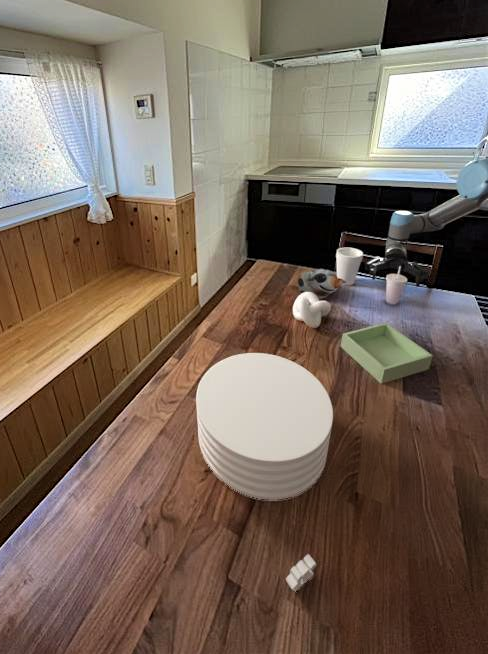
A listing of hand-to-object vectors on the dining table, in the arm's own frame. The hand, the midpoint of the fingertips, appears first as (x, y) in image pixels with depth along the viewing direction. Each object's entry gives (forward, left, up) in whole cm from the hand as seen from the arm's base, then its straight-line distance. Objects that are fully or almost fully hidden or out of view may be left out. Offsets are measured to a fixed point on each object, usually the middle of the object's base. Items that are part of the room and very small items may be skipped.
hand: (395, 280), depth 119 cm
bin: (-23, +26, -8) cm, 36 cm away
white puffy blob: (-1, +34, -8) cm, 35 cm away
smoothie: (-1, +1, -8) cm, 8 cm away
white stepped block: (-59, +76, -8) cm, 97 cm away
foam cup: (+17, +6, -8) cm, 20 cm away
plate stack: (-34, +70, -8) cm, 79 cm away
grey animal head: (+13, +21, -8) cm, 26 cm away
